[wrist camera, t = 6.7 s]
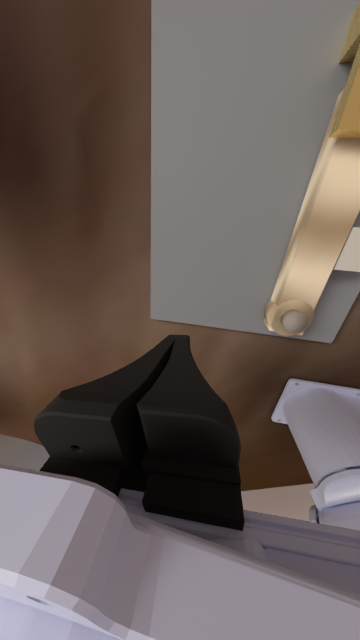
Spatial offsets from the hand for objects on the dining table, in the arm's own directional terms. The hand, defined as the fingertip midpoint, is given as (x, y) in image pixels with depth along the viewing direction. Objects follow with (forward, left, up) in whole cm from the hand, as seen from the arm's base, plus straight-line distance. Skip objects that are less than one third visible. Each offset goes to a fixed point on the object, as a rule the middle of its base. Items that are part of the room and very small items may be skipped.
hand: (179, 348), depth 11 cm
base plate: (-5, -9, -9) cm, 14 cm away
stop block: (-12, -7, -9) cm, 17 cm away
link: (-9, -7, -8) cm, 15 cm away
